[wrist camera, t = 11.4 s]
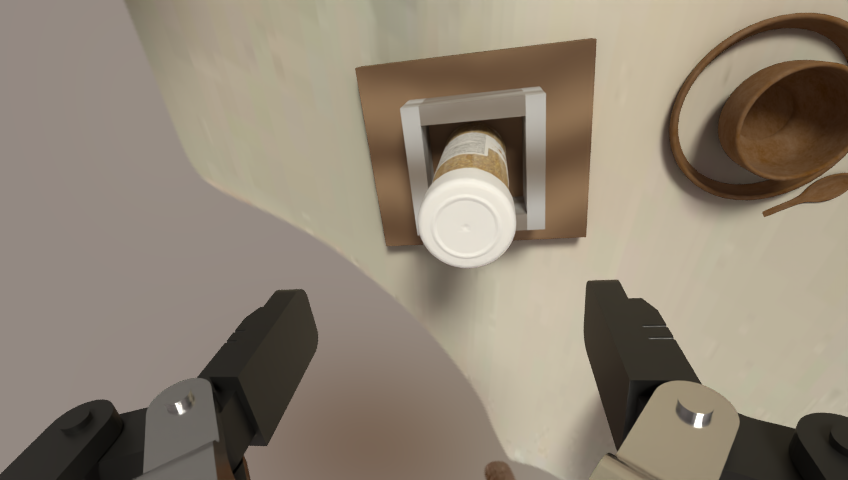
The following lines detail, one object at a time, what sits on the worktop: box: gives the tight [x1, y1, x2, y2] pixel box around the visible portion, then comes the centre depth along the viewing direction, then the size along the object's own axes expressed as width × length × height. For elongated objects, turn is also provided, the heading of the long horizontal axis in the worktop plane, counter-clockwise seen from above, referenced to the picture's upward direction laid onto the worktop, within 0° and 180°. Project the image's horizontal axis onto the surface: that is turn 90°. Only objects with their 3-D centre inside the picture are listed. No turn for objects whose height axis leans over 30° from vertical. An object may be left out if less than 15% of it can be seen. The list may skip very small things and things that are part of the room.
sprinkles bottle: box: [418, 122, 516, 268], centre depth 25 cm, size 5×5×13 cm
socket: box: [355, 38, 596, 246], centre depth 30 cm, size 14×16×5 cm
